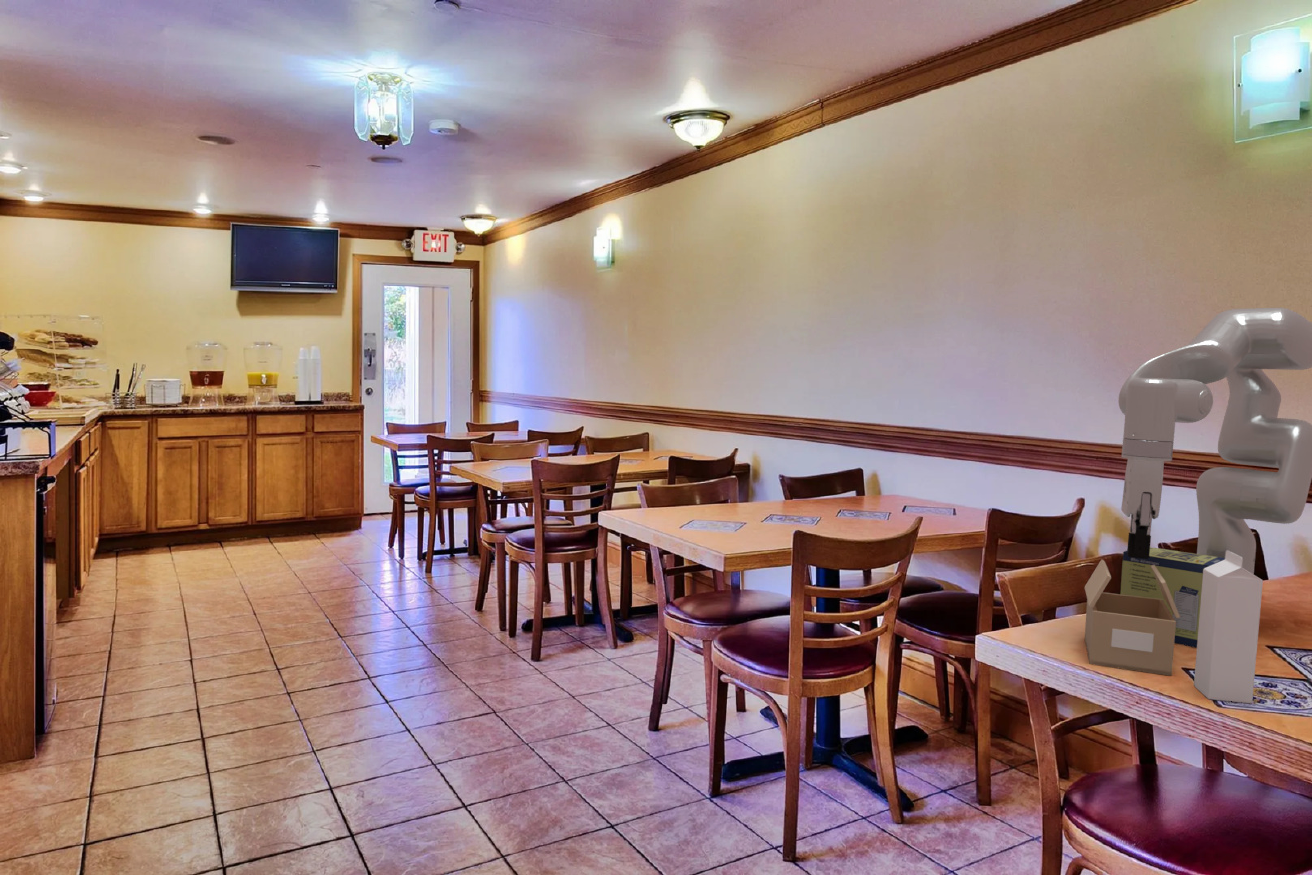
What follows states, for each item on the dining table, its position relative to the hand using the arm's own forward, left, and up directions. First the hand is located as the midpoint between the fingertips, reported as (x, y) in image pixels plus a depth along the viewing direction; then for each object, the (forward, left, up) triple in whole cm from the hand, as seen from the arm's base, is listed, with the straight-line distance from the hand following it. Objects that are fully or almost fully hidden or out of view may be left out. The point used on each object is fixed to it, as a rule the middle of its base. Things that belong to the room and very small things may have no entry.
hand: (1137, 556), depth 149 cm
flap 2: (0, +6, -8) cm, 10 cm away
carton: (0, -1, -18) cm, 18 cm away
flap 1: (0, -7, -8) cm, 11 cm away
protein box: (-19, +8, -18) cm, 28 cm away
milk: (+14, +11, -18) cm, 25 cm away
